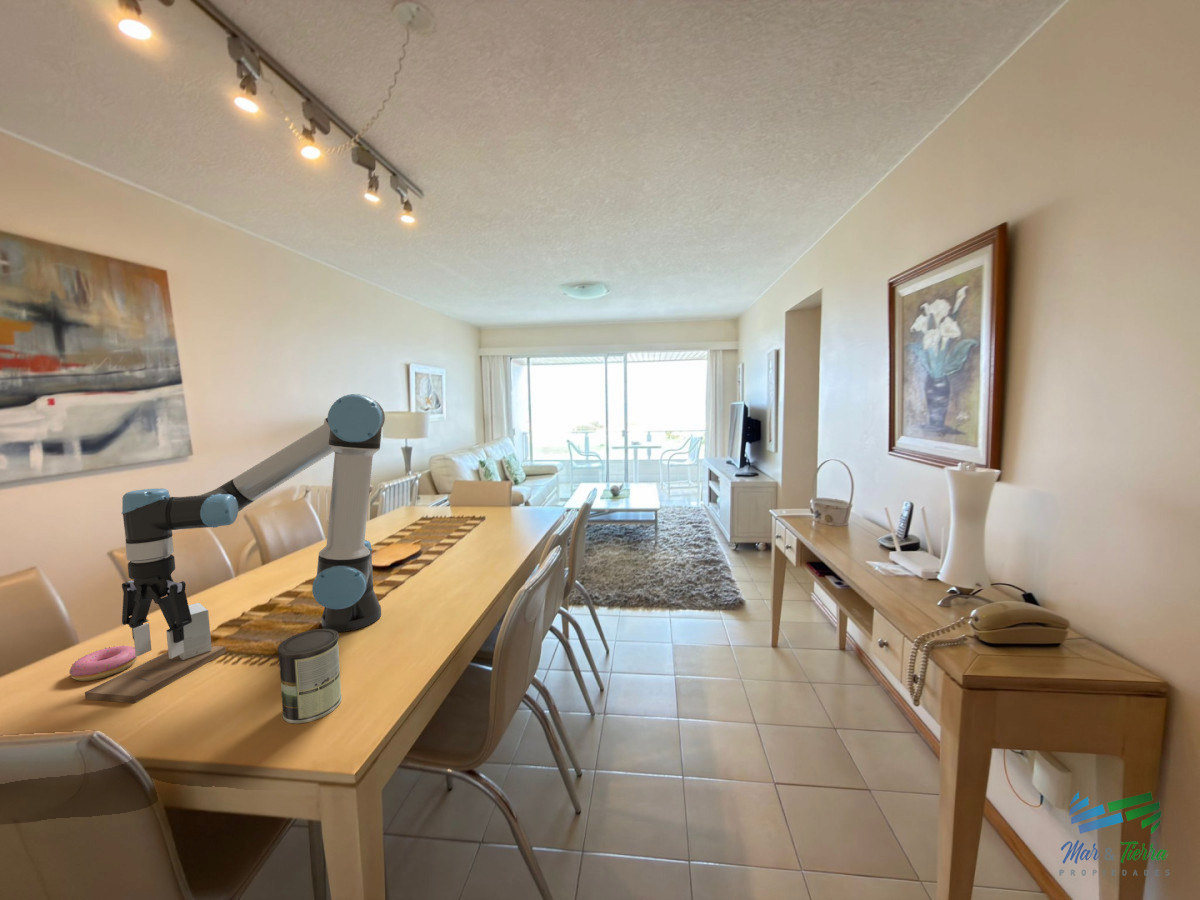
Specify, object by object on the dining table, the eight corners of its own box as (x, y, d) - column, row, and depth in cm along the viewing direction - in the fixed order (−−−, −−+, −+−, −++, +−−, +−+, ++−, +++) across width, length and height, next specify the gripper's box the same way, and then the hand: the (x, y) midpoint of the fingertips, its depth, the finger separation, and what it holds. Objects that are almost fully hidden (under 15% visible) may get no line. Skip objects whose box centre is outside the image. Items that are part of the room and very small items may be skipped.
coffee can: (270, 726, 86) (265, 655, 85) (301, 692, 96) (297, 629, 95) (326, 722, 87) (322, 652, 86) (351, 690, 97) (347, 627, 96)
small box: (212, 651, 111) (208, 609, 110) (181, 661, 106) (178, 618, 105) (203, 641, 115) (200, 601, 115) (173, 650, 111) (170, 609, 110)
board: (225, 652, 113) (225, 646, 113) (134, 703, 93) (134, 696, 93) (183, 649, 114) (183, 643, 114) (85, 699, 95) (84, 692, 95)
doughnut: (109, 657, 111) (108, 641, 111) (152, 658, 111) (151, 641, 111) (54, 684, 100) (52, 666, 100) (102, 684, 100) (100, 666, 100)
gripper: (208, 553, 104) (215, 648, 106) (130, 551, 107) (139, 643, 108) (174, 564, 97) (182, 666, 98) (91, 561, 99) (101, 660, 101)
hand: (160, 654), depth 103 cm, fingers open, 8 cm apart
